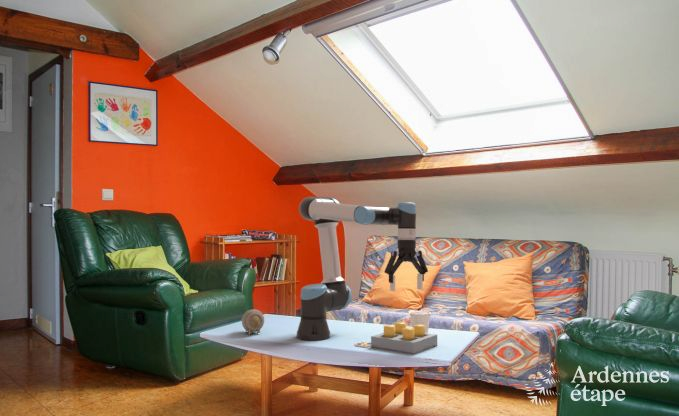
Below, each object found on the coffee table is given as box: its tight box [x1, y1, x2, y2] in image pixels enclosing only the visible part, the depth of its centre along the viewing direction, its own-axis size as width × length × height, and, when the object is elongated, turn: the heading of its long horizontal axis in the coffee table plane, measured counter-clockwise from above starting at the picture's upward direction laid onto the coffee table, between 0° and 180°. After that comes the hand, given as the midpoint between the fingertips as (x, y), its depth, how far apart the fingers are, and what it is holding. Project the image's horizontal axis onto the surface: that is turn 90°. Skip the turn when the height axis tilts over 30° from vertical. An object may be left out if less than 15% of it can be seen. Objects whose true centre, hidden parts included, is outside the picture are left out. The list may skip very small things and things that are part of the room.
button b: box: [402, 327, 414, 341], centre depth 211 cm, size 5×5×5 cm
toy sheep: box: [241, 308, 265, 335], centre depth 245 cm, size 11×17×11 cm, turn 24°
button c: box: [394, 321, 407, 334], centre depth 223 cm, size 5×5×5 cm
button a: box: [383, 324, 395, 338], centre depth 216 cm, size 5×5×5 cm
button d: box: [413, 325, 425, 337], centre depth 218 cm, size 5×5×5 cm
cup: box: [408, 310, 432, 334], centre depth 236 cm, size 10×10×11 cm
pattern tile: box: [354, 341, 371, 349], centre depth 218 cm, size 6×6×1 cm
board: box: [370, 332, 438, 355], centre depth 217 cm, size 20×20×4 cm
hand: (406, 290), depth 217 cm, fingers open, 13 cm apart
